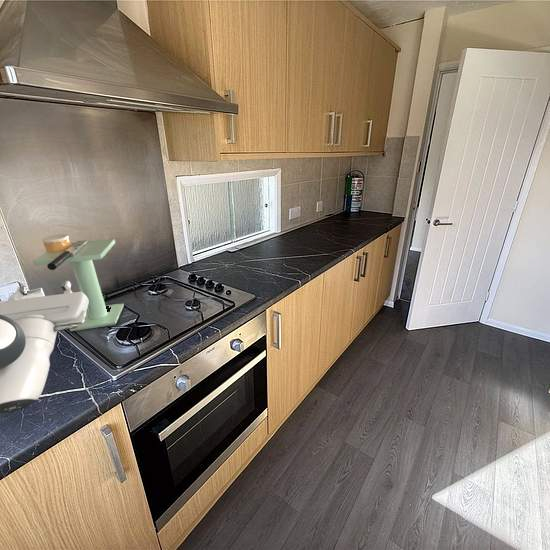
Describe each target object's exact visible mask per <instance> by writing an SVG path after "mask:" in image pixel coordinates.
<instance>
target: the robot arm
mask: <svg viewBox="0 0 550 550" xmlns="http://www.w3.org/2000/svg"><path fill="white" fill-rule="evenodd" d="M60 288H61V289H62V290H63V293H60V294H59V293H58V294H50V295H45V296H42V297H34V298H27V299H21V298H22V297H23V296H24V295H28V291H30V290H29V287H28V286H26V285H22V286H17V289H16V291H15V292H14V293H12V295H10V296H9V297H8V299H7V300H3V301H0V414H8V413H12V412H18V411H20V410H23V409H26V408H28V407H30V406H32V405H33V404H34V403H36V402H37V401H38V400H39V399H40V397H41V395H42V393H43V391H44V389H45V385H46V382H47V379H48V375H49V371H50V367H51V362H50V356H51V354H52V352H53V351H54V349H55V343H56V340H57V339H56V338H57V335H58V332H59V331H65V330H70V329H74V328H77V327H78V326H79V325H81V324H82V323H84V322H85V317H86V311H87V308H88V304H89V300H88V298H87V296H86V295H85V294H84V293H83V292H80V291H74V292H73V291H72V289H71V288H72V283H71V282H70V280H64V281H61V283H60Z"/></svg>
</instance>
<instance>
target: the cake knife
mask: <svg viewBox="0 0 550 550" xmlns="http://www.w3.org/2000/svg"><path fill="white" fill-rule="evenodd" d="M88 241H89V240H85V239H84V240H77V241H76V243H75V242H74V243H75V244H73V245H72V246H71V247H70V248H68V249H67V250H66V251H64V252H63V253H62V254H60V255H59V256H58V257H57V258H55V259H54V260H53V261H51V262H50V263H49V264H48V265H46V266H47V269H48V270H50V271H56V269H57V268H58V267H60V266H61V265H62V264H64V263H63V262H64V261H65V260H66V259H68V258H69V257H73V256H75V255H76V254H77V253H78V252H79V251H80V250H82V249H83V248H84V247H85V246H86V245H87V244H88Z"/></svg>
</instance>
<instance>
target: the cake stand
mask: <svg viewBox="0 0 550 550" xmlns="http://www.w3.org/2000/svg"><path fill="white" fill-rule="evenodd" d="M41 240H42V243H43V246H44V249H45V252H44V253H43V254H41V255H40V256H37V258H36V259H34V260H32V264H33V265H34V267H37V266H38V267H39V266H47V265H48V264H49V263H50V262H51V261H53V260H54V259H55V258H57V257H58V256H59V255H60V254H62V253H63V252H64V251H66V250H67V249H68V248H70V247H71V246H72V245H73V244H75V243H76V242H77V241H76V242H75V241H74V242H71V239H70V236H69V234H62V233H60V234H54V235H53V234H52V235H48V236H45V237H43V238H42V239H41ZM87 241H88V244H87V245H86V246H85V247H84V248H83V249H82V250H80V251H79V252H78V253H77V254H76V255H75V256H73V257H69V258H68V259H66V260H65V261H64V262H63V263H62V264H67V263H70V265H71V269H72V271H73V274H74V277H75V280H76V284H77V286H78V290H79V292H83V293H84V294H85V295H86V296H87V298H88V300H89V304H88V308H87V311H86V317H85V322H84V323H82V324H81V325H79V326H78V327H77V328H74V329H69V332H76V331H82V330H90V329H95V328H102V327H109V326H115V325H117V324H118V323H117V322H118V320H119V318H120V317H121V314H122V311H123V309H124V306H125V304H124V303H115V304H109V305H108V306H109V308H110V307H111V309H110V312H107V309H106V306H107V305H106V302H105V299H104V296H103V292H102V289H101V285H100V282H99V278H98V275H97V272H96V267H95V264H94V261H95V260H96V261H97V260H102V259H103V258H104V257H105V256H106V255H107V253H108V252H109V251H110V250H111V249H112V248H113V246H114V245H115V244H116V240H115V238H110V239H109V238H108V239H99V240H98V239H97V240H87Z"/></svg>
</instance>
